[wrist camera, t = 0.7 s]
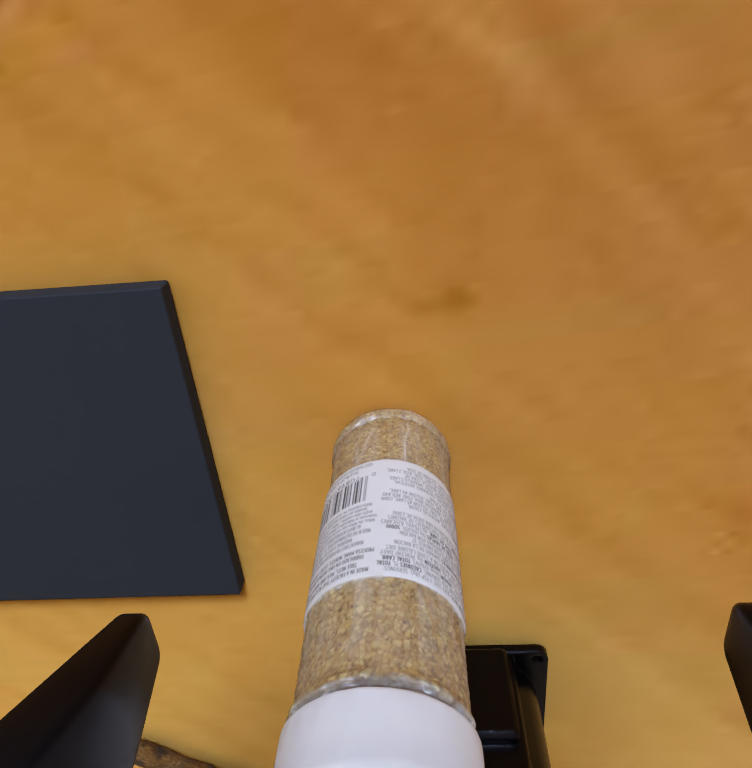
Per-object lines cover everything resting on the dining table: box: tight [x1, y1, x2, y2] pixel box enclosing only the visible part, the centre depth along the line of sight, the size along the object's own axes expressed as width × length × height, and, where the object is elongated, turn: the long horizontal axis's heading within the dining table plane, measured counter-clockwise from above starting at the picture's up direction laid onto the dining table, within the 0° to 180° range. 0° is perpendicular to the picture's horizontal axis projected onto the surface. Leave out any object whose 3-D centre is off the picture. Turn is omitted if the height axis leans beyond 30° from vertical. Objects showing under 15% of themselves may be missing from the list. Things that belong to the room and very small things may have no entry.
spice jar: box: [274, 409, 485, 768], centre depth 19 cm, size 5×5×14 cm
